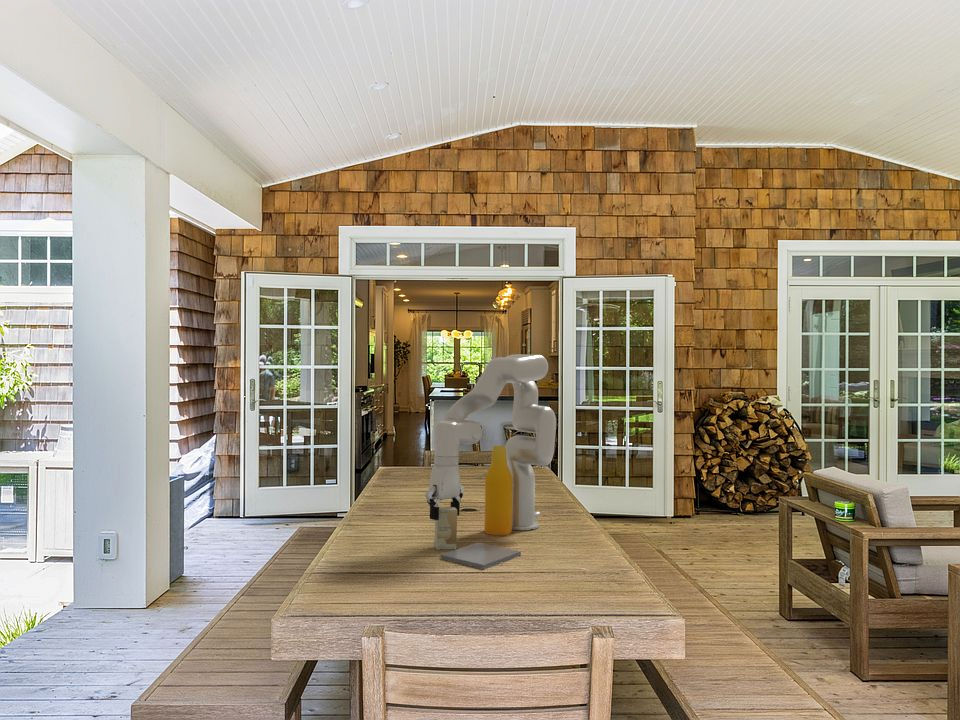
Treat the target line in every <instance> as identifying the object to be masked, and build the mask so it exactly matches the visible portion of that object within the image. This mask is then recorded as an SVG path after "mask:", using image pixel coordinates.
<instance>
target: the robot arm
mask: <svg viewBox="0 0 960 720" xmlns="http://www.w3.org/2000/svg"><path fill="white" fill-rule="evenodd" d="M548 371H549V362H548V361H547V359H546V357H545V356H544V355H541V354H520V353H519V354H517V353H516V354H510V355H506V356H505V357H503V356H502V357H501V356H500V357H494V358H491V359H490V361H488V362H487V364H486V367H485V368H484V370H483V371H482V373H481V375H480V377H479V378H478V380H477V382H476V383H475V385H474V387H473V388H472V389H471V391H469V392H468V393H466V394H464V395H463V396H462V397H461V398H459V399H458V400H457V401H456V402H454V403H453V404H452V405H451V406H450V408H448V411H447V412H446V414H445V415H444V417H443V419H442V421H437V422H436V424H435V427H434V456H433V458H434V459H433V461H434V462H433V466H432V468H431V472H430V478H429V485H428V486H429V487H428V490H427V491H426V492H425V494H424V495H425V498H426V502H427V503H428V506H429V519H430V520H433V521H435V520H439V507H440V506H439V504H440V503H441V501H444V500H450V499H451V501H450V507H455V508H456V509H457V517H458V516H460V508H461V507H460V504H461V502H462V498H463V497H464V491H465V486H463V485H462V484H461V474H460V473H461V472H460V466H459V461H460V460H459V459H460V458H459V457H460V455H459V454H460V445H461V444H462V445H474V444H477V443H478V442H479V441H480V440H481V439H482V437H483V429H482V426H481V425H480V423H478V422H477V421H474V420H468V419H466V418H468V417H469V416H470V415H473V414H474V413H478V412H479V411H482V410H485V409H487V408H491V407H492V406H494V405H495V403H496V402H497V400H498V398H499V397H500V395H501V393H502V392H503V390H504V387H506V384H512V387H513V405H512V414H511V415H512V417H511V419H512V420H511V421H512V422H511V424H512V427H513V428H514V429H515V430H516V431H518V432H523V433H529V434H530V433H532V434H535V436H529V435H528V436H527V435H513V436H512V437H510V438H508V439H507V440H506V443H505V445H504V446H505V448H506V458H507V465H508V468H509V470H510V472H511V475H512V531H532V530H531V529H533V530H537V529H539V527H540V525H539V524H540V523H539V522H538V521H536V518H537V519H538V518H539V517H541V512H540V511H535V508H536V507H535V503H536V501H535V500H536V497H535V496H536V495H535V494H536V493H535V491H536V476H535V471H534V469H533V466H538V467H539V466H541V467H546V466H548V465H549V464H550V463H551V462H552V460H553V457H554V453H555V444H556V443H555V442H556V433H557V432H556V430H557V417H556V414H555V411H554V410H553V409H552V408H551V407H549V406H546V405H539V389H538V385H537V383H536V382H535V381H541V380H542V379H544V378H545V377H546V376H547V374H548ZM532 465H533V466H532Z"/></svg>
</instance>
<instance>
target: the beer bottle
mask: <svg viewBox="0 0 960 720" xmlns="http://www.w3.org/2000/svg"><path fill="white" fill-rule="evenodd" d="M505 446H506V445H493V446H492V452H491V462H490V465H489V467H488V469H487V472H486V475H485V479H484V483H485V484H484V525H483V526H484V533H486V534H487V533H488V534H487V535H489V534H491V535H490V536H495V535H503V536H509V535H510V534H511V533H512V531H513V530H512V475H511V472H510V470H509V468H508V465H507V458H506V448H505Z"/></svg>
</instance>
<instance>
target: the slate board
mask: <svg viewBox="0 0 960 720" xmlns="http://www.w3.org/2000/svg"><path fill="white" fill-rule="evenodd" d="M519 555H522V553H521V550H515V549H510V548H507V547H501V546H496V545H492V544H488V543H483V542H476V543H472V544H469V545H465V546H462V547H460V548H456V549H452V550H451V551H447V552H445V553H441V554H440V556H439V557H440V558H442V559H441V560H443V559H446V560H445V561H448V560H450V561H449V562H452V561H454V562H453V563H456V562H458V563H457V564H460V563H462V564H461V565H464V564H466V565H465V566H468V565H471V566H470V567H472V566H474V567H473V568H476V567H478V569H481V568H482V570H486V569H488V567H489V568H492V567H494V566H496V564H497V565H500V564H502V563H505V562H508V561H510V560H513V559H515V558H514V557H516V558H518V557H520V556H519ZM517 556H518V557H517ZM512 558H513V559H512ZM509 559H510V560H509ZM507 560H508V561H507ZM504 561H505V562H504ZM501 562H502V563H501ZM499 563H500V564H499ZM493 565H494V566H493ZM491 566H492V567H491ZM485 568H486V569H485Z"/></svg>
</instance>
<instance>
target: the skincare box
mask: <svg viewBox="0 0 960 720" xmlns="http://www.w3.org/2000/svg"><path fill="white" fill-rule="evenodd" d="M438 507H439V520H434V521H435V523H434V541H433V542H434V548H435V549H436V550H438V551H440V549H443V550H456V549H457V536H458V535H457V534H458V516H457V509H456V508H455V507H451V506H450V507H449V506H442V507H440V506H438ZM455 548H456V549H455Z"/></svg>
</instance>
